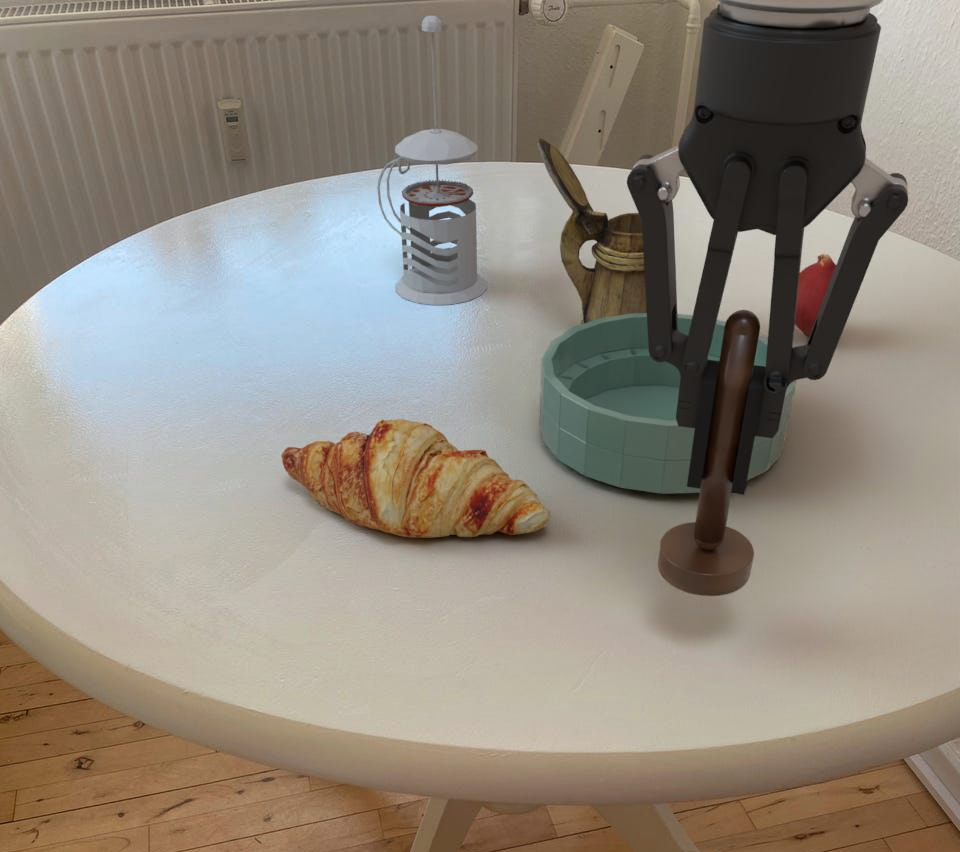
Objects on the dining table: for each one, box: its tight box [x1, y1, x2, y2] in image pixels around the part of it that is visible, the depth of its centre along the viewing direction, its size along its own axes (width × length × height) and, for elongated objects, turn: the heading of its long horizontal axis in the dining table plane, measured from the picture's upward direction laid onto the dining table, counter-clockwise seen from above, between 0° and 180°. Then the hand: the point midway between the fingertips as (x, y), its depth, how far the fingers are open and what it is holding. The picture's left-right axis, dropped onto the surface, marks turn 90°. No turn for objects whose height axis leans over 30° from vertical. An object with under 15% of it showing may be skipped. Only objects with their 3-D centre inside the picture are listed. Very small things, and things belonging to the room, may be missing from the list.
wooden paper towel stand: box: [657, 309, 761, 597], centre depth 60 cm, size 6×6×16 cm
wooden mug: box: [537, 137, 647, 325], centre depth 95 cm, size 9×14×18 cm, turn 82°
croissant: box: [281, 418, 550, 539], centre depth 77 cm, size 21×10×8 cm, turn 71°
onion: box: [795, 253, 837, 339], centre depth 99 cm, size 6×6×8 cm
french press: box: [376, 15, 488, 306], centre depth 104 cm, size 10×12×25 cm
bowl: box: [539, 313, 797, 495], centre depth 85 cm, size 20×20×6 cm
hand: (718, 478), depth 61 cm, fingers closed on wooden paper towel stand, 2 cm apart
